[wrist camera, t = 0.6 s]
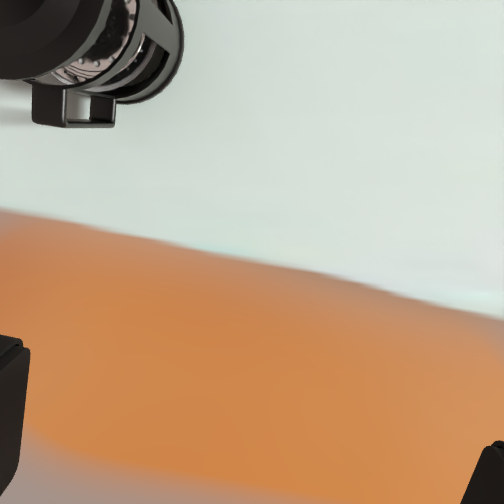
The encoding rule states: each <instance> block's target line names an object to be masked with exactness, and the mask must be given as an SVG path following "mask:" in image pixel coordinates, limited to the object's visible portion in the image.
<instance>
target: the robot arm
mask: <svg viewBox="0 0 504 504" xmlns="http://www.w3.org/2000/svg"><path fill="white" fill-rule="evenodd" d="M29 364H30V350H29V349H28V348H24V347H23V342H22V340H21V339H19V338H14V337H9V336H4V335H0V496H1V495H2V493H3V491H4V490H5V489H6V488H7V486H8V485H9V483H10V482H11V480H12V479H13V477H14V475H15V472H16V470H17V467H18V463H19V456H20V447H21V437H22V428H23V419H24V410H25V401H26V390H27V382H28V373H29ZM460 504H504V441H495V442H494V443H493V444H492V445H491V446H486V447H485V448H484V449H483V451H482V453H481V456H480V458H479V461H478V463H477V465H476V468H475V470H474V472H473V475H472V477H471V479H470V482H469V484H468V487H467V489H466V492H465V494H464V496H463V499H462V501H461V503H460Z"/></svg>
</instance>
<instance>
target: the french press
mask: <svg viewBox="0 0 504 504" xmlns="http://www.w3.org/2000/svg"><path fill="white" fill-rule="evenodd" d="M156 44H157V45H159V46H160V47H161V48H163V49H164V55H163V57H162V60H161V62H160V64H159V66H158V67H157V69H156V70H155V71H154V72H153V73H152V74H151V75H150V77H148V78H147V79H145V80H144V81H142V82H140V83H138V84H135V85H131V86H125V87H123V86H124V85H125V84H127V83H128V82H130V81H131V80H133V79H134V78H136V77H137V76H138V75H139V73H140V72H141V71H142V70H143V69H144V68H145V67H146V65H147V63H148V62H149V60H150V59H151V57H152V55H153V52H154V49H155V47H156ZM183 51H184V31H183V25H182V20H181V17H180V14H179V12H178V9H177V7H176V5H175V3H174V2H173V0H0V80H16V81H18V80H23V81H25V82H27V83H29V84H32V121H33V122H34V123H37V124H41V125H47V126H54V127H60V128H113V127H114V126H115V116H116V104H126V105H129V104H136V103H141V102H144V101H146V100H149V99H151V98H153V97H154V96H156V95H158V94H159V93H161V92H162V91H163V90H164V89H165V88H166V87H167V86H168V85H169V84H170V82H171V81H172V79H173V78H174V76H175V75H176V73H177V71H178V68H179V66H180V64H181V61H182V56H183ZM48 73H50V74H52V75H53V76H54V77H56V78H57V79H58V80H60V81H61V82H63V83H65V84H67V85H51V84H46V83H42V82H40V81H38V80H36V79H33V78H37V77H40V76H43V75H45V74H48ZM67 92H70V93H75V94H81V95H86V96H91V102H90V117H89V120H88V119H66V105H67Z"/></svg>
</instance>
